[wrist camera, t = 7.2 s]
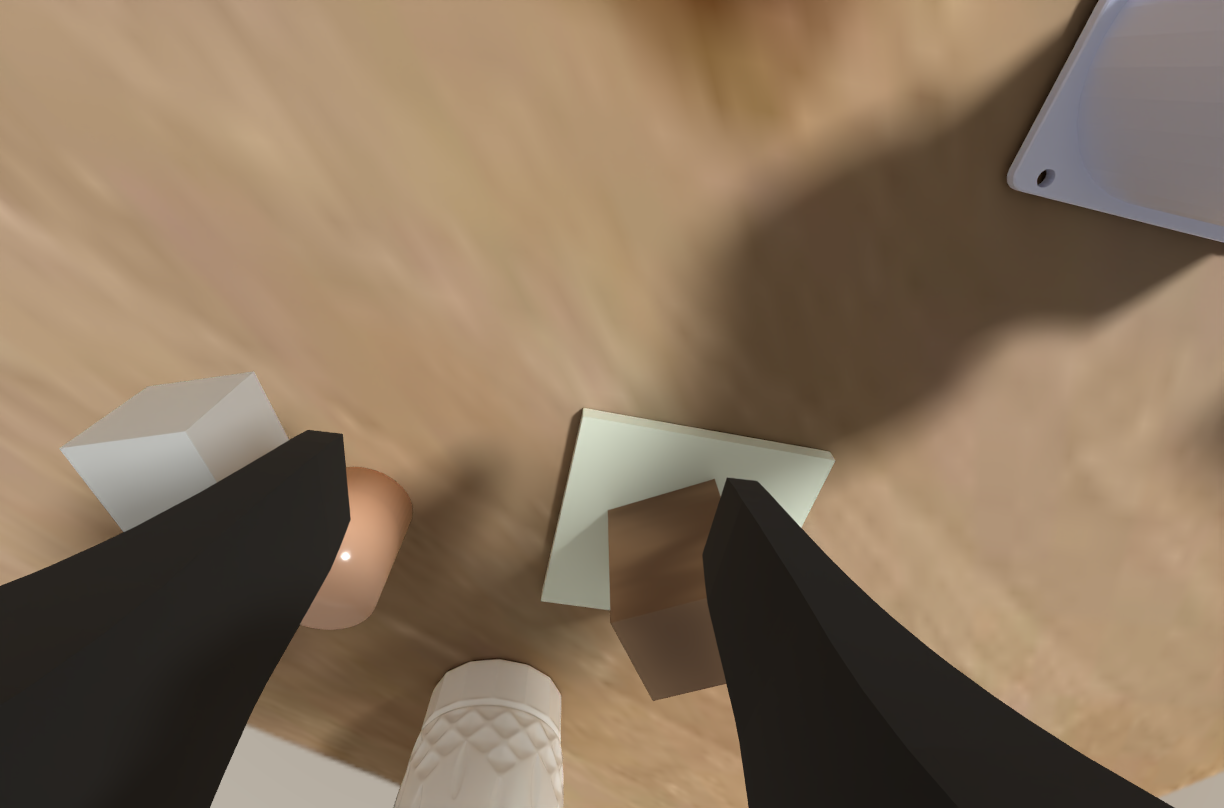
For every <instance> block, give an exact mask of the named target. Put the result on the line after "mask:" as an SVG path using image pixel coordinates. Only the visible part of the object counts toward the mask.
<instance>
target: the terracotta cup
mask: <svg viewBox="0 0 1224 808" xmlns="http://www.w3.org/2000/svg"><path fill="white" fill-rule="evenodd" d="M346 474H347V485H348V495H349V506H350V517H351V520H350V523H349V526H348V528H347V531H346V533H345V536H344V539H343V541H342V544H341V546H340V549H339V551H338V553H337V556H336V558H335V561H334V563H333V565H332V568H331V570H330V572H329V573H328V575H327V577H326V579H325V581H324V583H323V584H322V586H321V588H320V590H319V592H318V593H317V595H316V597H315V599H314V600H313V602H312V604H311V606H310V608H309V609H308V611H307V613H306V615H305V616H304V618H303V620H302V622H301V623H300V625H303V626H306V627H310V628H316V629H325V630H336V629H344V628H349V627H352V626H355V625H357V624H359V623H361V622H363V621H364V620H366V619H367V618H368V617H369V616H370V615H371V614H372V613H373V611H374V609H375V607H376V605H377V602H378V600H379V597H380V595H381V593H382V590H383V588H384V585H385V583H386V581H387V578H388V576H389V573H390V571H391V568H392V566H393V564H394V561H395V559H396V556H397V554H398V552H399V549H400V547H401V544H402V542H403V540H404V537H405V535H406V532H407V530H408V528H409V525H410V523H411V520H412V516H413V507H412V503H411V500H410V498H409V496H408V494H407V493H406V491H405V490H404V489H403V488H402V487H401V486H400V485H399V484H398V483H397V482H396V481H395V480H393V479H392V478H390V477H388V476H387V475H385V474H383V473H380V472H378V471H375V470H372V469H367V468H361V467H346Z"/></svg>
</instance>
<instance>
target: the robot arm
mask: <svg viewBox="0 0 1224 808" xmlns="http://www.w3.org/2000/svg"><path fill="white" fill-rule="evenodd" d="M1044 170H1046V173H1047V174H1046V177H1045V179H1044V180H1043V181H1042V182H1041V183H1040V184H1038V185H1037V179H1038V176H1039V175H1040V174H1041V172H1043V171H1044ZM1007 183H1008V185H1009V186H1010V187H1011V188H1012V189H1014V190H1017V191H1021V192H1025V193H1029V194H1033V195H1037V196H1041V197H1045V198H1049V199H1053V200H1057V201H1061V202H1065V203H1068V204H1072V205H1076V206H1080V207H1084V208H1088V209H1092V210H1096V211H1100V212H1104V213H1108V214H1112V215H1116V216H1120V217H1124V218H1128V219H1132V220H1136V221H1140V222H1144V223H1148V224H1152V225H1156V226H1160V227H1164V228H1168V229H1172V230H1176V231H1179V232H1183V233H1187V234H1191V235H1195V236H1199V237H1203V238H1207V239H1211V240H1215V241H1219V242H1223V243H1224V0H1099V1H1098V3H1097V4H1096V6H1095V8H1094V10H1093V12H1092V14H1091V16H1090V18H1089V20H1088V21H1087V23H1086V25H1085V27H1084V29H1083V31H1082V33H1081V35H1080V37H1079V38H1078V40H1077V42H1076V44H1075V46H1074V48H1073V50H1072V52H1071V54H1070V55H1069V57H1068V59H1067V61H1066V63H1065V65H1064V67H1063V69H1062V71H1061V72H1060V74H1059V76H1058V78H1057V80H1056V82H1055V84H1054V86H1053V88H1052V89H1051V91H1050V93H1049V95H1048V97H1047V99H1046V101H1045V103H1044V104H1043V106H1042V108H1041V110H1040V112H1039V114H1038V116H1037V118H1036V120H1035V121H1034V123H1033V125H1032V127H1031V129H1030V131H1029V133H1028V135H1027V137H1026V138H1025V140H1024V142H1023V144H1022V146H1021V148H1020V150H1019V152H1018V154H1017V155H1016V157H1015V159H1014V161H1013V163H1012V165H1011V167H1010V169H1009V171H1008V174H1007ZM350 520H351V517H350V506H349V495H348V485H347V474H346V464H345V453H344V442H343V434H339V433H330V432H321V431H313V430H307V431H305V432H303V433H301V434H299V435H297V436H296V437H294V438H292V439H290V440H289V441H287V442H285V443H283V444H282V445H280V446H278V447H277V448H275V449H273V450H272V451H270V452H268V453H267V454H265V455H263V456H261V457H260V458H258V459H256V460H255V461H253V462H251V463H250V464H248V465H246V466H245V467H243V468H241V469H239V470H238V471H236V472H234V473H232V474H231V475H229V476H227V477H226V478H224V479H222V480H220V481H219V482H217V483H215V484H214V485H212V486H210V487H208V488H207V489H205V490H203V491H201V492H200V493H198V494H196V495H194V496H192V497H190V498H188V499H186V500H184V501H183V502H181V503H179V504H177V505H175V506H173V507H171V508H169V509H168V510H166V511H164V512H162V513H160V514H158V515H156V516H154V517H152V518H151V519H149V520H147V521H145V522H143V523H141V524H139V525H137V526H135V527H133V528H131V529H129V530H127V531H125V532H123V533H121V534H119V535H117V536H115V537H113V538H111V539H109V540H107V541H104V542H102V543H100V544H98V545H96V546H94V547H92V548H89V549H87V550H85V551H83V552H80V553H78V554H76V555H74V556H71V557H69V558H67V559H65V560H62V561H60V562H58V563H56V564H53V565H51V566H49V567H46V568H44V569H42V570H39V571H37V572H35V573H32V574H30V575H27V576H25V577H22V578H19V579H17V580H14V581H12V582H9V583H7V584H4V585H2V586H0V808H210V806H211V803H212V801H213V799H214V796H215V794H216V792H217V789H218V787H219V785H220V782H221V780H222V777H223V775H224V773H225V770H226V768H227V766H228V764H229V762H230V759H231V757H232V755H233V753H234V750H235V748H236V746H237V744H238V741H239V739H240V737H241V735H242V732H243V730H244V728H245V726H246V724H247V721H248V719H249V717H250V715H251V712H252V710H253V708H254V706H255V704H256V703H257V701H258V699H259V697H260V695H261V693H262V691H263V689H264V687H265V685H266V683H267V681H268V680H269V678H270V676H271V674H272V673H273V671H274V669H275V667H276V666H277V664H278V662H279V660H280V659H281V657H282V655H283V653H284V652H285V650H286V648H287V646H288V644H289V643H290V641H291V639H292V637H293V636H294V634H295V632H296V630H297V629H298V627H299V625H300V623H301V622H302V620H303V618H304V616H305V615H306V613H307V611H308V609H309V608H310V606H311V604H312V602H313V600H314V599H315V597H316V595H317V593H318V592H319V590H320V588H321V586H322V584H323V583H324V581H325V579H326V577H327V575H328V573H329V572H330V570H331V568H332V565H333V563H334V561H335V558H336V556H337V553H338V551H339V549H340V546H341V544H342V541H343V539H344V536H345V533H346V531H347V528H348V526H349V523H350ZM702 558H703V568H704V579H705V588H706V596H707V604H708V608H709V613H710V617H711V621H712V626H713V630H714V634H715V638H716V643H717V647H718V651H719V655H720V659H721V663H722V667H723V671H724V676H725V680H726V684H727V688H728V692H729V696H730V700H731V704H732V709H733V713H734V717H735V722H736V727H737V732H738V737H739V742H740V749H741V756H742V763H743V770H744V777H745V784H746V791H747V798H748V806H749V808H1174V807H1172V806H1170V805H1169V804H1167V803H1165V802H1164V801H1162V800H1160V799H1159V798H1157V797H1155V796H1153V795H1152V794H1150V793H1148V792H1146V791H1145V790H1143V789H1141V788H1140V787H1138V786H1136V785H1134V784H1133V783H1131V782H1129V781H1127V780H1126V779H1124V778H1122V777H1121V776H1119V775H1117V774H1115V773H1114V772H1112V771H1110V770H1109V769H1107V768H1105V767H1103V766H1102V765H1100V764H1098V763H1096V762H1095V761H1093V760H1091V759H1090V758H1088V757H1086V756H1085V755H1083V754H1081V753H1080V752H1078V751H1077V750H1075V749H1073V748H1072V747H1070V746H1069V745H1067V744H1066V743H1064V742H1062V741H1061V740H1059V739H1058V738H1056V737H1055V736H1053V735H1052V734H1050V733H1048V732H1047V731H1045V730H1044V729H1042V728H1041V727H1039V726H1038V725H1036V724H1034V723H1033V722H1031V721H1030V720H1028V719H1027V718H1025V717H1024V716H1022V715H1021V714H1019V713H1018V712H1016V711H1015V710H1013V709H1012V708H1010V707H1009V706H1008V705H1006V704H1005V703H1003V702H1002V701H1000V700H999V699H997V698H996V697H994V696H993V695H992V694H990V693H989V692H987V691H986V690H985V689H983V688H982V687H981V686H979V685H978V684H976V683H975V682H974V681H972V680H971V679H970V678H968V677H967V676H966V675H964V674H963V673H961V672H960V671H959V670H957V669H956V668H955V667H953V666H952V665H950V664H949V663H948V662H947V661H945V660H944V659H943V658H941V657H940V656H939V655H938V654H936V653H935V652H934V651H932V650H931V649H930V648H929V647H927V646H926V645H925V644H924V643H923V642H921V641H920V640H919V639H918V638H917V637H915V636H914V635H913V634H912V633H910V632H909V631H908V630H907V629H906V628H904V627H903V626H902V625H901V624H900V623H898V622H897V621H896V620H895V619H894V618H892V617H891V616H890V615H889V614H888V613H887V612H886V611H885V610H883V609H882V608H881V607H880V606H879V605H878V604H877V603H876V602H875V601H873V600H872V599H871V598H870V597H869V596H868V595H867V594H866V593H865V592H864V591H863V590H862V589H861V588H860V587H859V586H858V585H857V584H856V583H854V582H853V581H852V580H851V579H850V578H849V577H848V576H847V575H846V574H845V573H844V572H843V571H842V570H841V569H840V568H839V567H838V566H837V565H836V564H835V563H834V562H833V561H832V560H831V559H830V558H829V557H828V556H827V555H826V554H825V553H824V552H823V551H822V550H821V548H820V547H819V546H818V545H817V544H816V543H815V542H814V541H813V540H812V539H811V538H810V537H809V536H808V535H807V534H806V533H805V531H804V530H803V529H802V528H801V527H800V526H799V525H798V524H797V523H796V522H795V521H794V519H793V518H792V517H791V516H790V515H789V514H788V513H787V512H786V511H785V510H784V509H783V507H782V506H781V505H780V504H779V503H778V502H777V501H776V500H775V499H774V498H773V497H772V495H771V494H770V493H769V492H768V491H767V490H766V489H765V488H764V487H763V486H762V485H761V484H760V483H759V482H758V481H754V480H745V479H736V478H728V477H727V479H726V482H725V485H724V488H723V491H722V494H721V498H720V501H719V504H718V507H717V510H716V513H715V516H714V519H713V522H712V526H711V529H710V532H709V535H708V538H707V541H706V544H705V547H704V550H703V554H702Z"/></svg>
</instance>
